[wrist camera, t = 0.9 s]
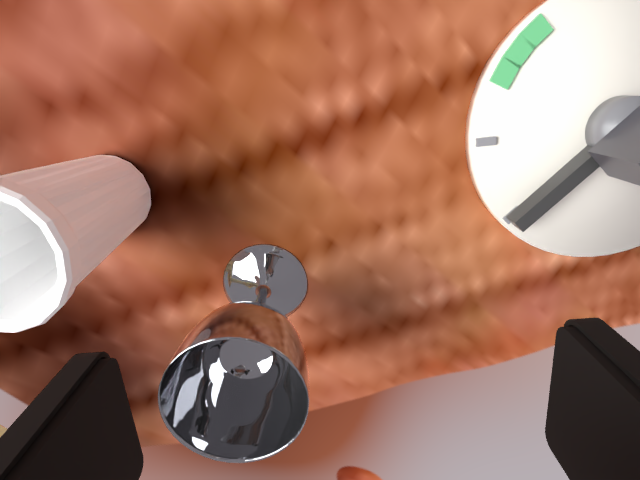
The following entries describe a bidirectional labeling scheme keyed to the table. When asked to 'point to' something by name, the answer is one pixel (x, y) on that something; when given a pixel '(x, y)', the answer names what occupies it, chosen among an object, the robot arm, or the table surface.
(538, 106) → the tuner dial
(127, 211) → the cup
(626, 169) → the tuning knob
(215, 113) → the table surface
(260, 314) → the wine glass
